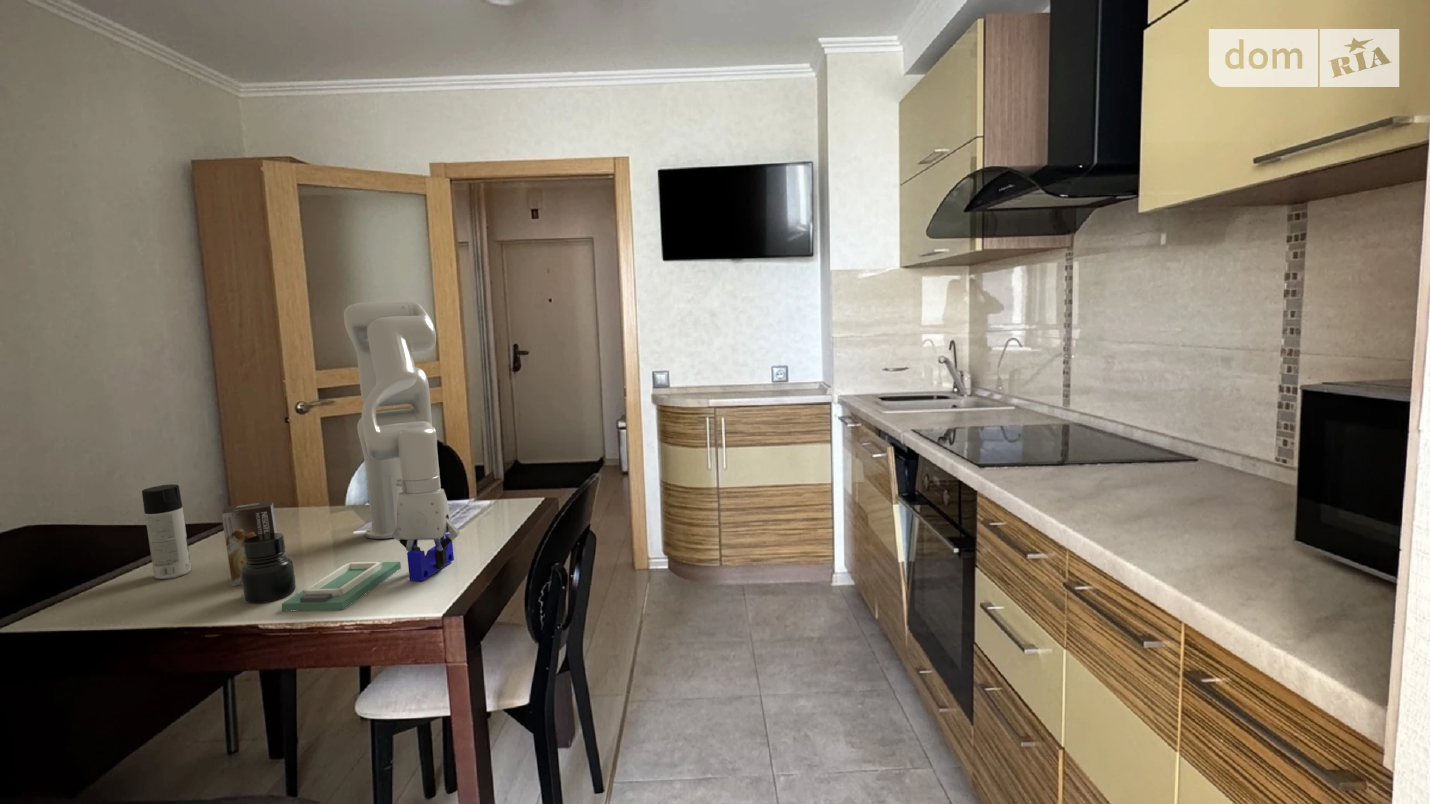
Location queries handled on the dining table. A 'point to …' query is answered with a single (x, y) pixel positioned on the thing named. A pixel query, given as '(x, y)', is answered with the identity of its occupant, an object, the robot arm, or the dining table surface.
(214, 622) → the dining table surface
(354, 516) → the dining table surface
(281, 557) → the ink bottle
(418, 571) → the cable clip
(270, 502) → the coffee box
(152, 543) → the spray can
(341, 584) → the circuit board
